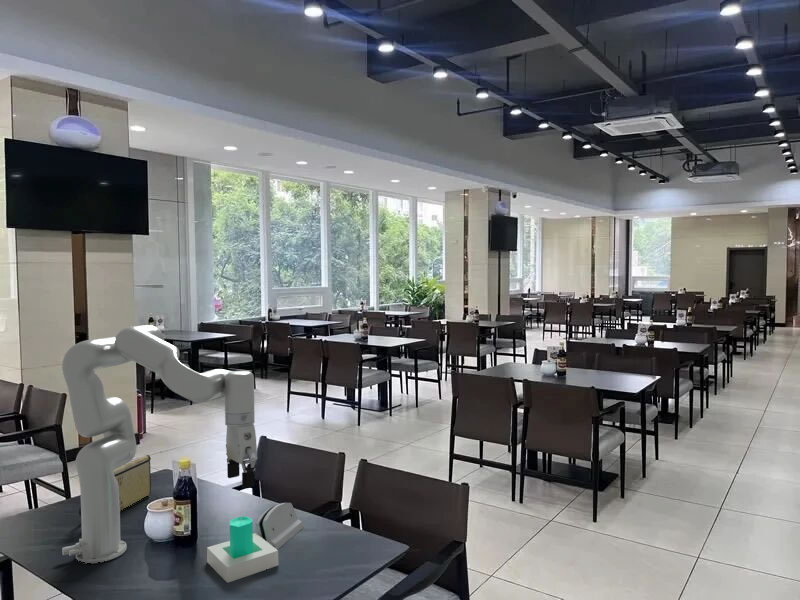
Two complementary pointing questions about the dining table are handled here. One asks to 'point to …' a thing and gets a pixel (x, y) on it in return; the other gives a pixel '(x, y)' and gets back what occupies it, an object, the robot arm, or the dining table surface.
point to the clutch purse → (133, 481)
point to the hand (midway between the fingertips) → (240, 481)
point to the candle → (241, 537)
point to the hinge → (278, 524)
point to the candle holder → (242, 559)
